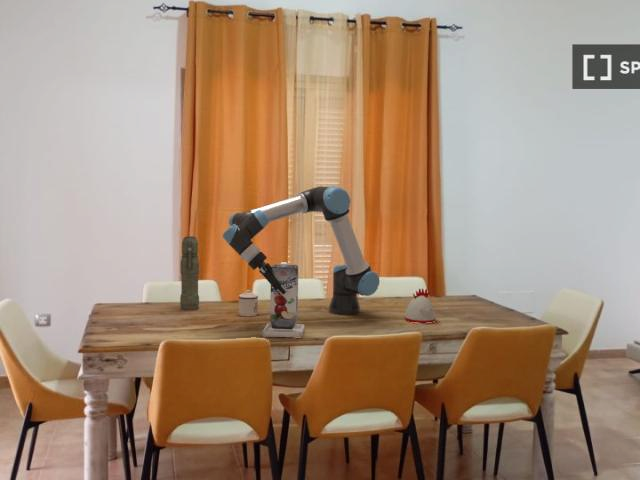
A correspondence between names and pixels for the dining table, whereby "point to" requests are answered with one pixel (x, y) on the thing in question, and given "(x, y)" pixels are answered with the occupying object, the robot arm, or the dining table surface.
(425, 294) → the grey dome with crest
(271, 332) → the carton tray
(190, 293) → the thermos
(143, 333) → the dining table surface
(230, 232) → the robot arm
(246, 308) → the teacup with lid
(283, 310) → the juice carton
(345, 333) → the dining table surface
